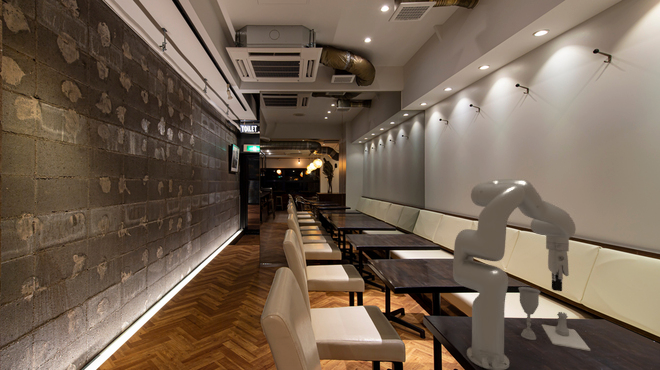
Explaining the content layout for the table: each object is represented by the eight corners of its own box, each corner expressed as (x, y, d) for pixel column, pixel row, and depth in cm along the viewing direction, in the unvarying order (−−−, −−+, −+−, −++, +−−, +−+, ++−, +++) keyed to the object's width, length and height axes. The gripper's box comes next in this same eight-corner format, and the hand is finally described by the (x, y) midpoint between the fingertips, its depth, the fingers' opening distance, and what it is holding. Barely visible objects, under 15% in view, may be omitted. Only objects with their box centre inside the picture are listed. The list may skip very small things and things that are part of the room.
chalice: (533, 332, 118) (534, 287, 118) (544, 341, 111) (544, 293, 111) (514, 331, 119) (514, 286, 119) (523, 340, 112) (523, 292, 112)
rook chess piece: (563, 337, 114) (563, 316, 114) (552, 331, 118) (552, 311, 118) (572, 335, 115) (572, 315, 115) (560, 330, 119) (561, 310, 119)
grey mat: (590, 351, 105) (590, 349, 105) (552, 344, 110) (552, 342, 110) (574, 330, 120) (574, 329, 120) (541, 325, 124) (541, 324, 124)
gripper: (574, 250, 116) (574, 297, 116) (562, 243, 129) (562, 285, 129) (551, 249, 119) (550, 294, 119) (541, 242, 132) (541, 283, 132)
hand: (556, 290), depth 124 cm, fingers closed
